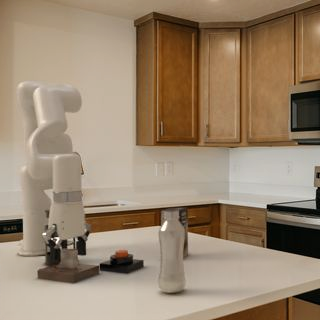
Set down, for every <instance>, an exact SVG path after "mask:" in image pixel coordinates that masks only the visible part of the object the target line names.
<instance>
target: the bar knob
mask: <svg viewBox="0 0 320 320" xmlns="http://www.w3.org/2000/svg"><path fill="white" fill-rule="evenodd" d="M60 249H61V262H60V268H69V269H74V268H77V267H78V263H79V255H78V250H77V249H76V248H75V249H73V248H68V249H62V248H60Z"/></svg>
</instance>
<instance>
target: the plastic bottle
mask: <svg viewBox="0 0 320 320" xmlns="http://www.w3.org/2000/svg"><path fill="white" fill-rule="evenodd" d="M179 218H180V216H179V211H178V210H167V211H164V219H165V221H164V223H163V224H162V226H161V225H160V227H159V230H158V233H157V234H158V241H159V248H160V250H159V251H160V266H159V274H158V280H157V283H158V288H159V290H160V291H161V292H162V293H166V294H167V293H169V294H171V293H179V292H182V291H183V290H184V288H185V287H186V273H185V267H184V266H185V265H184V258H183V247H184V240H185V229H184V227H183V226H182V224H181V223H180V222H179V220H178V219H179Z"/></svg>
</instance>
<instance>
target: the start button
mask: <svg viewBox="0 0 320 320" xmlns="http://www.w3.org/2000/svg"><path fill="white" fill-rule="evenodd" d="M114 253H115V254H114V255H115V257H127V256H128V254H129V251H128V250H127V249H119V250H116V251H115V252H114Z"/></svg>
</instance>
